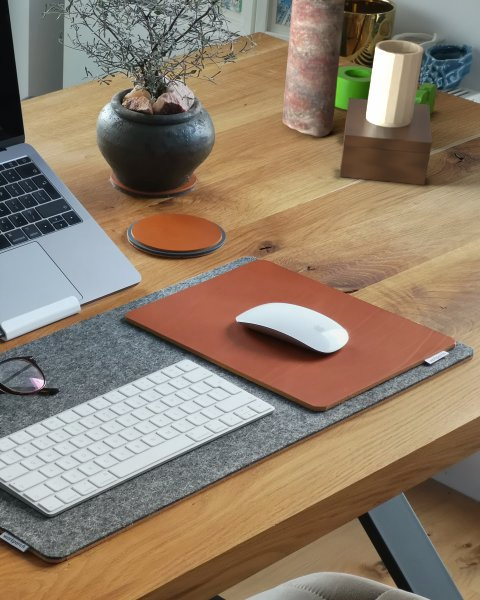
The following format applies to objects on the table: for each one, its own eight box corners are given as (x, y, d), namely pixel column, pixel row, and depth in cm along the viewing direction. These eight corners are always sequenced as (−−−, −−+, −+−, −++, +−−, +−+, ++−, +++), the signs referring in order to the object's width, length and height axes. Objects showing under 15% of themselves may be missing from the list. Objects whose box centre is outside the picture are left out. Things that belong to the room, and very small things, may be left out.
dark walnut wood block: (422, 144, 158) (429, 104, 155) (424, 185, 146) (431, 142, 143) (343, 137, 160) (348, 97, 157) (339, 176, 149) (344, 134, 146)
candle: (278, 135, 161) (291, -3, 150) (281, 117, 167) (294, -17, 157) (331, 140, 159) (349, 1, 149) (332, 121, 165) (349, -14, 155)
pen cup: (411, 113, 152) (422, 41, 147) (411, 129, 147) (423, 56, 142) (366, 109, 153) (376, 38, 148) (365, 125, 148) (375, 52, 143)
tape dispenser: (322, 104, 172) (326, 75, 169) (341, 91, 177) (345, 62, 174) (416, 125, 164) (421, 95, 162) (433, 111, 169) (438, 82, 167)
